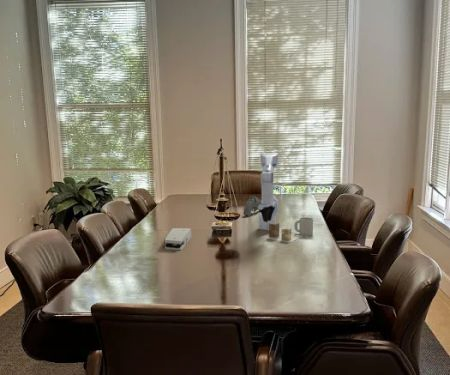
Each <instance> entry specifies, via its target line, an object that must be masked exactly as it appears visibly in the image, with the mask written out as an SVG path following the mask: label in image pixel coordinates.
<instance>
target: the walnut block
mask: <svg viewBox="0 0 450 375" xmlns="http://www.w3.org/2000/svg"><path fill="white" fill-rule="evenodd" d="M279 232H280V222H276V223H275V222H272V223H269V230H268V234H269V237H270V238H278V237H279Z"/></svg>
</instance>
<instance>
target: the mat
mask: <svg viewBox="0 0 450 375" xmlns="http://www.w3.org/2000/svg"><path fill="white" fill-rule="evenodd" d="M281 233H282V231H279V237H278V238H270V237H269V233H268V234H265V235H262V236H259V238H261V239H267V240H273V241H277V242H283V243H292V242H294V241H296V240H298V239H301V238H302V237H304V235H300V234H295V233H291V240H289V241H285V240H281Z"/></svg>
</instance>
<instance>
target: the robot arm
mask: <svg viewBox="0 0 450 375" xmlns="http://www.w3.org/2000/svg"><path fill="white" fill-rule="evenodd" d="M259 158H260V166H261V168H262V171H261V172H260V187H261V200H260V201H261V204H260V205H258V209H259V210H260V211H259V210H258V209H257V210H258V211H259V212H260V214H259V215H258V228H257V229H258V230H264V231H269V223H272V222H275V223H277V217H276V216H277V214H278V213H279V200H278V199H277V198H276V197H275V196H274V180H275V175H274V171H275V169H277V168H278V166H279V153H278V152H275V153H274V152H273V153H272V152H268V153H267V152H266V153H265V152H261V153H260V157H259Z"/></svg>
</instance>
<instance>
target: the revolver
mask: <svg viewBox="0 0 450 375" xmlns="http://www.w3.org/2000/svg"><path fill="white" fill-rule="evenodd" d="M248 197H249V199H247V202H246V203H245V206H244V208H243V215H244V216H246V217H251V216H252V214H251V213H252V212H253V213H255V212H256V211H259V212H260V210H259V209H258V205H260V204H261V201H262V200H260V198H258V197H257V196H255V195H249V196H248Z"/></svg>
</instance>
